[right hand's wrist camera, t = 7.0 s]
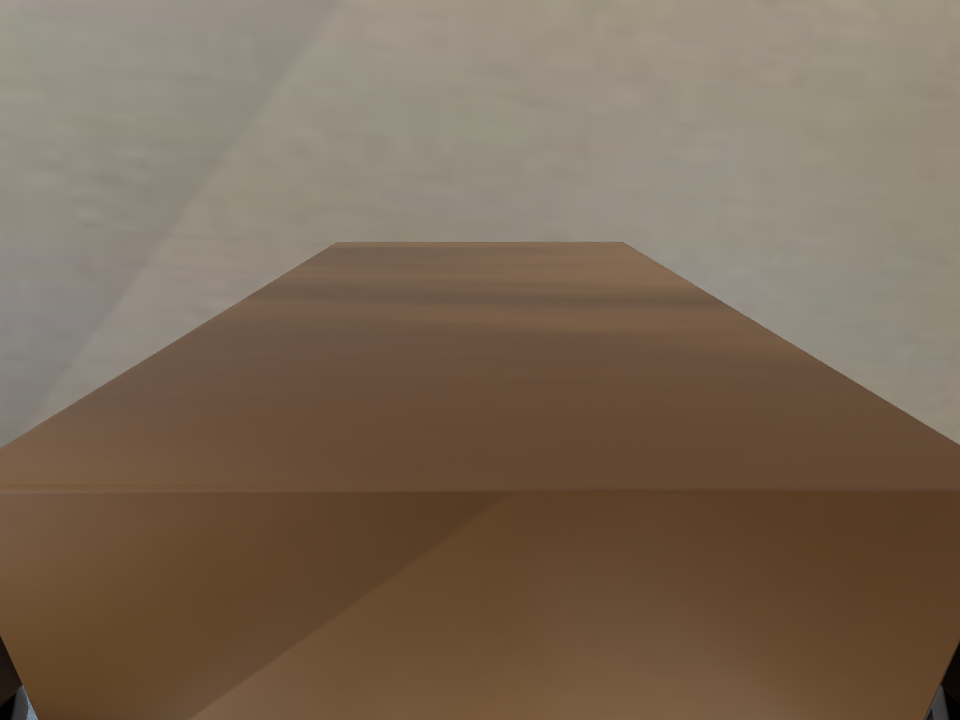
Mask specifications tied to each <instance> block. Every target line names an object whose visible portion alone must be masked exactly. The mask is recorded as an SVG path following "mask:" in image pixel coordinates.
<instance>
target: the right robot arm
mask: <svg viewBox="0 0 960 720" xmlns="http://www.w3.org/2000/svg"><path fill="white" fill-rule="evenodd" d="M22 685H23V684H22V682H21V680H20V678H19V675H18V673H17V671H16V669H15V667H14V664H13V662H12V660H11V658H10V655H9V653H8V651H7V649H6V647H5V644H4V642H3V640H2V638H1V636H0V720H26V719H27V713H28V703H27V696H26V694H25V692H24V690H23V687H22ZM925 720H960V643H959V645H958V647H957V649H956V652H955V654H954V656H953V658H952V660H951V663H950V665H949V667H948V669H947V671H946V674H945V676H944V678H943V680H942V682H941V685H940V687H939V689H938V691H937V693H936V696H935V698H934V700H933V702H932V705H931V707H930V709H929V711H928V713H927V716H926V718H925Z"/></svg>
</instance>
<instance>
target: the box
mask: <svg viewBox="0 0 960 720" xmlns="http://www.w3.org/2000/svg"><path fill="white" fill-rule="evenodd" d="M0 636H1V638H2V640H3V642H4V644H5V647H6V649H7V651H8V653H9V655H10V658H11V660H12V662H13V664H14V667H15V669H16V671H17V673H18V675H19V678H20V680H21V682H22V684H23V687H24V689H25V691H26V693H27V695H28V698H29V700H30V702H31V704H32V707H33V709H34V711H35V713H36V715H37V718H38V720H925V718H926V716H927V713H928V711H929V709H930V707H931V705H932V702H933V700H934V698H935V696H936V693H937V691H938V689H939V687H940V685H941V682H942V680H943V678H944V676H945V674H946V671H947V669H948V667H949V665H950V663H951V660H952V658H953V656H954V654H955V652H956V649H957V647H958V645H959V643H960V445H959V444H957V443H955V442H954V441H952V440H950V439H949V438H947V437H945V436H944V435H942V434H940V433H939V432H937V431H935V430H934V429H932V428H930V427H929V426H927V425H925V424H924V423H922V422H921V421H919V420H917V419H916V418H914V417H912V416H911V415H909V414H907V413H906V412H904V411H902V410H901V409H899V408H897V407H896V406H894V405H892V404H891V403H889V402H887V401H886V400H884V399H882V398H881V397H879V396H877V395H876V394H874V393H872V392H871V391H869V390H867V389H866V388H864V387H863V386H861V385H859V384H858V383H856V382H854V381H853V380H851V379H849V378H848V377H846V376H844V375H843V374H841V373H839V372H838V371H836V370H834V369H833V368H831V367H829V366H828V365H826V364H824V363H823V362H821V361H819V360H818V359H816V358H814V357H813V356H811V355H809V354H808V353H806V352H804V351H803V350H801V349H800V348H798V347H796V346H795V345H793V344H791V343H790V342H788V341H786V340H785V339H783V338H781V337H780V336H778V335H776V334H775V333H773V332H771V331H770V330H768V329H766V328H765V327H763V326H761V325H760V324H758V323H756V322H755V321H753V320H751V319H750V318H748V317H746V316H745V315H743V314H742V313H740V312H738V311H737V310H735V309H733V308H732V307H730V306H728V305H727V304H725V303H723V302H722V301H720V300H718V299H717V298H715V297H713V296H712V295H710V294H708V293H707V292H705V291H703V290H702V289H700V288H698V287H697V286H695V285H693V284H692V283H690V282H688V281H687V280H685V279H684V278H682V277H680V276H679V275H677V274H675V273H674V272H672V271H670V270H669V269H667V268H665V267H664V266H662V265H660V264H659V263H657V262H655V261H654V260H652V259H650V258H649V257H647V256H645V255H644V254H642V253H640V252H639V251H637V250H635V249H634V248H632V247H630V246H629V245H627V244H626V243H624V242H337V243H335V244H333V245H332V246H330V247H328V248H327V249H325V250H323V251H322V252H320V253H319V254H317V255H315V256H314V257H312V258H310V259H309V260H307V261H305V262H304V263H302V264H301V265H299V266H297V267H296V268H294V269H292V270H291V271H289V272H288V273H286V274H284V275H283V276H281V277H279V278H278V279H276V280H274V281H273V282H271V283H270V284H268V285H266V286H265V287H263V288H261V289H260V290H258V291H256V292H255V293H253V294H252V295H250V296H248V297H247V298H245V299H243V300H242V301H240V302H239V303H237V304H235V305H234V306H232V307H230V308H229V309H227V310H225V311H224V312H222V313H221V314H219V315H217V316H216V317H214V318H212V319H211V320H209V321H207V322H206V323H204V324H203V325H201V326H199V327H198V328H196V329H194V330H193V331H191V332H190V333H188V334H186V335H185V336H183V337H181V338H180V339H178V340H176V341H175V342H173V343H172V344H170V345H168V346H167V347H165V348H163V349H162V350H160V351H158V352H157V353H155V354H154V355H152V356H150V357H149V358H147V359H145V360H144V361H142V362H141V363H139V364H137V365H136V366H134V367H132V368H131V369H129V370H127V371H126V372H124V373H123V374H121V375H119V376H118V377H116V378H114V379H113V380H111V381H109V382H108V383H106V384H105V385H103V386H101V387H100V388H98V389H96V390H95V391H93V392H92V393H90V394H88V395H87V396H85V397H83V398H82V399H80V400H78V401H77V402H75V403H74V404H72V405H70V406H69V407H67V408H65V409H64V410H62V411H61V412H59V413H57V414H56V415H54V416H52V417H51V418H49V419H47V420H46V421H44V422H43V423H41V424H39V425H38V426H36V427H34V428H33V429H31V430H29V431H28V432H26V433H25V434H23V435H21V436H20V437H18V438H16V439H15V440H13V441H12V442H10V443H8V444H7V445H5V446H3V447H2V448H0Z"/></svg>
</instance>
